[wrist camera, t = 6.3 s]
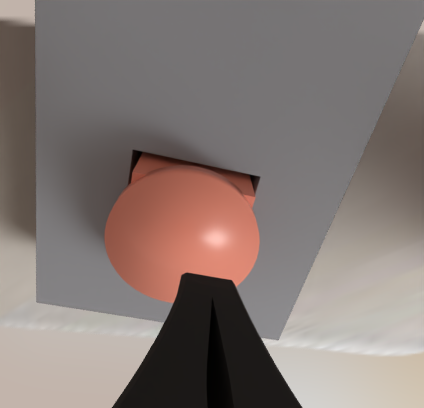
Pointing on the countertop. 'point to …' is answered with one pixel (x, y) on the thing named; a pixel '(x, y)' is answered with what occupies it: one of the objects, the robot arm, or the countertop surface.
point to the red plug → (181, 225)
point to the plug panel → (205, 126)
